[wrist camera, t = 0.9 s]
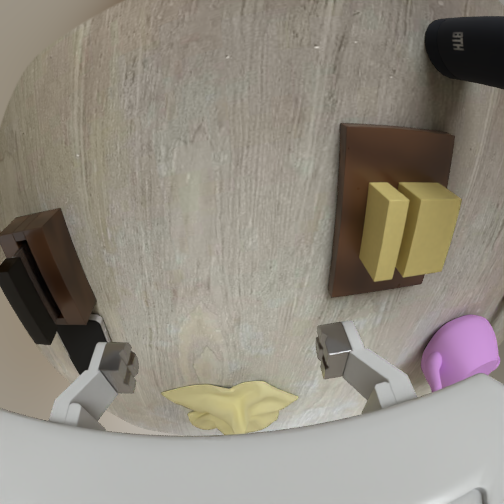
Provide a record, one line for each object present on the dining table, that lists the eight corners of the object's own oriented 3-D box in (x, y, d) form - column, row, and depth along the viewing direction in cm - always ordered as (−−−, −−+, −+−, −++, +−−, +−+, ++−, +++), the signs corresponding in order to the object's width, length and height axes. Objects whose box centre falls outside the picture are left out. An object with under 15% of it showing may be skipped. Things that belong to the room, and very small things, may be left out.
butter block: (398, 181, 25) (421, 199, 21) (438, 182, 25) (462, 199, 21) (385, 254, 29) (402, 278, 26) (423, 250, 29) (441, 271, 26)
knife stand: (15, 217, 24) (-4, 236, 21) (60, 207, 25) (41, 227, 21) (53, 302, 31) (41, 324, 28) (96, 300, 31) (86, 325, 28)
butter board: (340, 122, 23) (346, 125, 22) (446, 132, 23) (455, 135, 22) (327, 289, 33) (331, 297, 31) (416, 276, 33) (421, 284, 32)
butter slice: (368, 182, 24) (389, 200, 21) (387, 182, 24) (409, 199, 21) (358, 257, 29) (373, 282, 25) (375, 255, 29) (392, 279, 25)
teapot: (495, 302, 39) (529, 347, 29) (463, 351, 46) (488, 395, 36) (417, 314, 37) (454, 378, 27) (386, 370, 44) (409, 427, 35)
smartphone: (82, 380, 39) (46, 314, 30) (83, 374, 40) (50, 308, 31) (127, 386, 40) (100, 321, 31) (128, 380, 41) (102, 314, 32)
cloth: (306, 379, 43) (314, 412, 38) (278, 426, 52) (282, 453, 47) (158, 372, 39) (153, 408, 34) (166, 422, 49) (164, 450, 44)
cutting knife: (34, 226, 25) (-7, 273, 18) (48, 223, 25) (7, 272, 18) (62, 292, 30) (35, 344, 23) (76, 291, 30) (50, 345, 23)
